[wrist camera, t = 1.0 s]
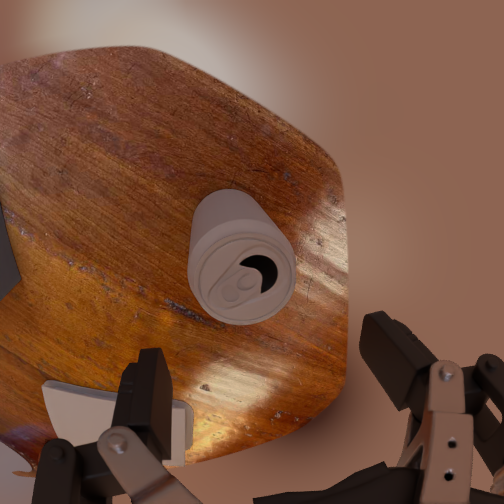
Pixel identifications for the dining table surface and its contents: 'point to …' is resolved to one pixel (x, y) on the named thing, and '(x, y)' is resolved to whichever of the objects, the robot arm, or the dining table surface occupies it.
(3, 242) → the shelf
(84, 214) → the dining table surface
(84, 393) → the book
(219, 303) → the beverage can
